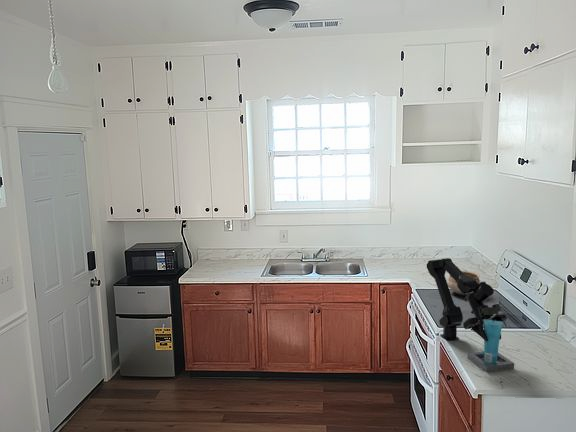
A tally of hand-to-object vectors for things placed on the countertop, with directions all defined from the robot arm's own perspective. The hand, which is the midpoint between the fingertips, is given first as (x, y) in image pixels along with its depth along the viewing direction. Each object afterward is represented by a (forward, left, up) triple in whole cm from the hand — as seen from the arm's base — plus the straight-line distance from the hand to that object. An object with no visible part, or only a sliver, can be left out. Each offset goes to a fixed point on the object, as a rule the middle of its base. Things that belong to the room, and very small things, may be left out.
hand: (494, 340), depth 201 cm
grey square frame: (-1, 0, -11) cm, 11 cm away
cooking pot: (-84, +41, -11) cm, 94 cm away
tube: (-2, 0, -11) cm, 11 cm away
